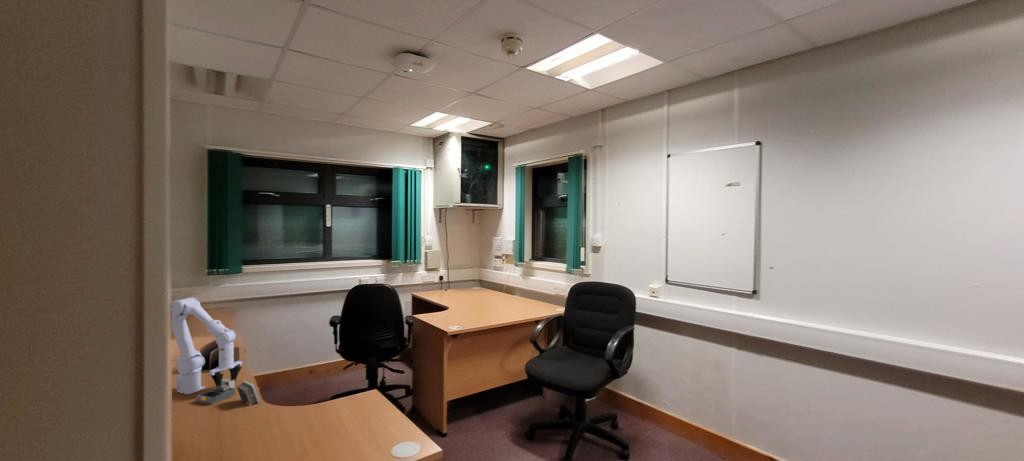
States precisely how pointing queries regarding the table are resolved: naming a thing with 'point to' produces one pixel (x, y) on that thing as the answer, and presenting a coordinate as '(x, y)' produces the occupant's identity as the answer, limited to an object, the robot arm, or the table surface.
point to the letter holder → (214, 356)
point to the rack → (216, 394)
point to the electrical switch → (248, 393)
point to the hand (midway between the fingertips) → (226, 385)
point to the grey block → (228, 382)
